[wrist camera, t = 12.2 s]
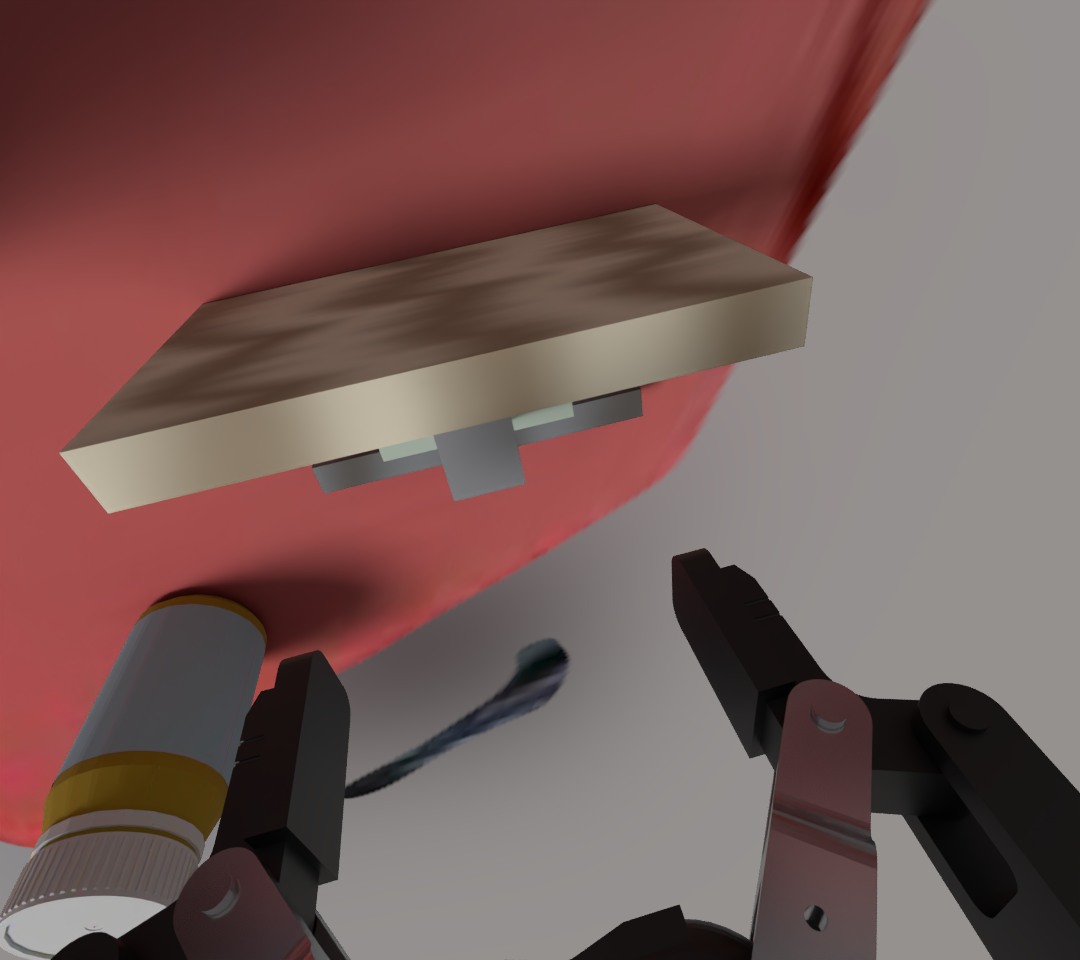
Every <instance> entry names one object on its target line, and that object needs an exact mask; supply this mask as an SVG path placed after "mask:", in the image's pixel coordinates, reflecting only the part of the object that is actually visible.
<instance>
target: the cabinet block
mask: <svg viewBox="0 0 1080 960" xmlns="http://www.w3.org/2000/svg"><path fill="white" fill-rule="evenodd" d="M570 417H574V413H573V406H572V402H570V403H566V404H562V405H558V406H554V407H549V408H545V409H541V410H537V411H533V412H529V413H525V414H520V415H516V416H512V417H508V418H504V419H500V420H495V421H491V422H487V423H483V424H479V425H475V426H470V427H466V428H462V429H458V430H454V431H450V432H445V433H441V434H437V435H433V436H429V437H425V438H421V439H416V440H412V441H408V442H404V443H400V444H396V445H391V446H387V447H383V448H379V451H380V453H381V456H382V459H383V461H384V462H385V461H389V460H394V459H398V458H402V457H406V456H410V455H415V454H419V453H423V452H427V451H431V450H436V449H438V452H439V455H440V458H441V461H442V465H443V468H444V471H445V474H446V477H447V480H448V483H449V486H450V490H451V493H452V496H453V499H454V501H458V500H462V499H466V498H470V497H474V496H479V495H483V494H487V493H491V492H495V491H499V490H503V489H507V488H511V487H515V486H519V485H523V484H526V483H525V478H524V473H523V469H522V464H521V460H520V455H519V450H518V446H517V441H516V437H515V432H514V431H515V430H519V429H524V428H528V427H532V426H536V425H540V424H544V423H549V422H553V421H557V420H561V419H565V418H570Z"/></svg>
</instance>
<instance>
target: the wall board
mask: <svg viewBox="0 0 1080 960" xmlns="http://www.w3.org/2000/svg"><path fill="white" fill-rule="evenodd" d="M812 281H813V277H811V276H809V275H807V274H805V273H803V272H801V271H798V270H796V269H794V268H792V267H790V266H788V265H786V264H784V263H782V262H779V261H777V260H775V259H773V258H771V257H769V256H767V255H764V254H762V253H760V252H758V251H756V250H754V249H752V248H749V247H747V246H745V245H743V244H741V243H739V242H737V241H734V240H732V239H730V238H728V237H726V236H724V235H722V234H719V233H717V232H715V231H713V230H711V229H709V228H707V227H704V226H702V225H700V224H698V223H696V222H694V221H692V220H690V219H687V218H685V217H683V216H681V215H679V214H677V213H675V212H672V211H670V210H668V209H666V208H664V207H662V206H660V205H657V204H653V205H649V206H644V207H640V208H635V209H631V210H626V211H622V212H617V213H613V214H608V215H604V216H599V217H595V218H590V219H586V220H581V221H576V222H572V223H567V224H563V225H558V226H554V227H549V228H545V229H540V230H536V231H531V232H527V233H522V234H518V235H513V236H509V237H504V238H500V239H495V240H491V241H486V242H482V243H477V244H473V245H468V246H464V247H459V248H455V249H450V250H445V251H441V252H436V253H432V254H427V255H423V256H418V257H414V258H409V259H405V260H400V261H396V262H391V263H387V264H382V265H378V266H373V267H369V268H364V269H360V270H355V271H351V272H346V273H342V274H337V275H333V276H328V277H324V278H319V279H314V280H310V281H305V282H301V283H296V284H292V285H287V286H283V287H278V288H274V289H269V290H265V291H260V292H256V293H251V294H247V295H242V296H238V297H233V298H229V299H224V300H220V301H215V302H211V303H206V304H202V305H201V306H200V307H199V308H198V309H197V310H196V311H195V312H194V313H193V314H192V315H191V316H190V317H189V318H188V320H187V321H186V322H185V323H184V324H183V325H182V326H181V327H180V328H179V329H178V330H177V331H176V332H175V333H174V334H173V335H172V336H171V337H170V338H169V339H168V340H167V341H166V342H165V343H164V344H163V345H162V347H161V348H160V349H159V350H158V351H157V352H156V353H155V354H154V355H153V356H152V357H151V358H150V359H149V360H148V361H147V362H146V363H145V364H144V365H143V366H142V367H141V368H140V369H139V370H138V371H137V373H136V374H135V375H134V376H133V377H132V378H131V379H130V380H129V381H128V382H127V383H126V384H125V385H124V386H123V387H122V388H121V389H120V390H119V391H118V392H117V393H116V394H115V395H114V396H113V397H112V399H111V400H110V401H109V402H108V403H107V404H106V405H105V406H104V407H103V408H102V409H101V410H100V411H99V412H98V413H97V414H96V415H95V416H94V417H93V418H92V419H91V420H90V421H89V422H88V423H87V425H86V426H85V427H84V428H83V429H82V430H81V431H80V432H79V433H78V434H77V435H76V436H75V437H74V438H73V439H72V440H71V441H70V442H69V443H68V444H67V445H66V446H65V447H64V448H63V449H62V450H61V452H60V455H61V456H62V457H63V458H64V459H65V461H66V462H67V463H68V464H69V466H70V467H71V468H72V469H73V471H74V472H75V473H76V474H77V476H78V477H79V478H80V479H81V481H82V482H83V483H84V484H85V485H86V487H87V488H88V489H89V490H90V492H91V493H92V494H93V495H94V497H95V498H96V499H97V500H98V502H99V503H100V504H101V505H102V506H103V508H104V509H105V510H106V511H107V513H108V514H109V513H113V512H117V511H121V510H125V509H129V508H134V507H138V506H142V505H146V504H150V503H154V502H158V501H163V500H167V499H171V498H175V497H179V496H183V495H188V494H192V493H196V492H200V491H204V490H208V489H213V488H217V487H221V486H225V485H229V484H233V483H238V482H242V481H246V480H250V479H254V478H258V477H262V476H267V475H271V474H275V473H279V472H283V471H287V470H292V469H296V468H300V467H304V466H308V465H312V464H313V466H312V470H313V472H314V474H315V476H316V478H317V480H318V482H319V484H320V486H321V488H322V490H323V492H324V493H328V492H333V491H337V490H341V489H345V488H349V487H353V486H357V485H361V484H365V483H369V482H374V481H378V480H382V479H386V478H390V477H394V476H398V475H402V474H406V473H410V472H415V471H419V470H423V469H427V468H431V467H435V466H439V465H442V461H441V458H440V455H439V452H438V449H436V450H431V451H427V452H423V453H419V454H415V455H410V456H406V457H402V458H398V459H394V460H389V461H385V462H384V461H383V459H382V456H381V453H380V451H379V448H383V447H387V446H391V445H396V444H400V443H404V442H408V441H412V440H416V439H421V438H425V437H429V436H433V435H437V434H441V433H445V432H450V431H454V430H458V429H462V428H466V427H470V426H475V425H479V424H483V423H487V422H491V421H495V420H500V419H504V418H508V417H512V416H516V415H520V414H525V413H529V412H533V411H537V410H541V409H545V408H549V407H554V406H558V405H562V404H566V403H570V402H572V406H573V413H574V417H570V418H565V419H561V420H557V421H553V422H549V423H544V424H540V425H536V426H532V427H528V428H524V429H519V430H515V431H514V432H515V437H516V441H517V446H521V445H525V444H529V443H534V442H538V441H542V440H546V439H550V438H554V437H558V436H562V435H566V434H571V433H575V432H579V431H583V430H587V429H591V428H595V427H599V426H603V425H607V424H612V423H616V422H620V421H624V420H628V419H632V418H636V417H640V416H643V414H642V398H641V389H640V387H639V386H641V385H645V384H649V383H653V382H658V381H662V380H666V379H670V378H674V377H678V376H683V375H687V374H691V373H695V372H699V371H703V370H708V369H712V368H716V367H720V366H724V365H728V364H732V363H737V362H741V361H745V360H749V359H753V358H757V357H762V356H766V355H770V354H774V353H778V352H782V351H786V350H791V349H795V348H799V347H803V346H804V345H805V338H806V330H807V321H808V313H809V305H810V296H811V288H812Z"/></svg>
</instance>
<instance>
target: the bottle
mask: <svg viewBox="0 0 1080 960" xmlns="http://www.w3.org/2000/svg"><path fill="white" fill-rule="evenodd" d="M266 643H267V635H266V632H265V629H264V627H263V625H262V624H261V622H260V621H259V620H258V619H257V618H256V617H255V616H254V615H253V614H252V613H251V612H250V611H249V610H248V609H247V608H245V607H243V606H242V605H240V604H239V603H237V602H235V601H232V600H229V599H226V598H223V597H220V596H212V595H204V594H197V595H184V596H180V597H176V598H173V599H170V600H167V601H163V602H160V603H158V604H156V605H154V606H152V607H151V608H149V609H148V610H146V611H145V612H144V613H143V614H142V615H141V616H140V618H139V619H138V621H137V623H136V624H135V626H134V628H133V629H132V631H131V633H130V635H129V636H128V638H127V640H126V642H125V644H124V646H123V648H122V650H121V652H120V654H119V656H118V658H117V660H116V662H115V664H114V666H113V668H112V670H111V672H110V674H109V675H108V677H107V679H106V681H105V683H104V685H103V687H102V689H101V691H100V693H99V695H98V697H97V699H96V701H95V703H94V705H93V707H92V709H91V711H90V713H89V714H88V716H87V718H86V720H85V722H84V724H83V726H82V728H81V730H80V732H79V734H78V736H77V738H76V740H75V742H74V744H73V746H72V748H71V750H70V752H69V754H68V755H67V757H66V759H65V761H64V763H63V765H62V767H61V769H60V771H59V773H58V775H57V777H56V779H55V781H54V783H53V785H52V788H51V790H50V792H49V794H48V796H47V798H46V801H45V807H44V817H43V827H42V835H41V836H40V837H39V839H38V841H37V843H36V845H35V847H34V849H33V852H32V854H31V858H30V861H29V862H28V863H27V864H26V865H25V867H24V868H23V870H22V872H21V875H20V877H19V878H18V881H17V882H16V885H15V887H14V889H13V891H12V893H11V895H10V897H9V899H8V901H7V903H6V905H5V907H4V909H3V911H2V913H1V915H0V947H1V948H2V949H4V950H6V951H7V952H9V953H11V954H14V955H16V956H19V957H22V958H26V959H31V960H51V959H52V957H53V956H55V955H56V954H57V953H58V952H59V951H60V950H61V949H62V948H64V947H65V946H66V945H68V944H69V943H71V942H72V941H74V940H76V939H77V938H79V937H81V936H84V935H86V934H89V933H93V932H104V933H108V934H109V935H111V936H113V937H115V938H119V937H120V936H122V935H124V934H125V933H127V932H128V931H130V930H131V929H133V928H135V927H136V926H138V925H139V924H141V923H142V922H144V921H146V920H147V919H149V918H150V917H152V916H153V915H155V914H157V913H158V912H160V911H161V910H163V909H164V908H166V907H167V906H169V905H170V904H172V903H173V902H174V901H176V900H177V899H178V898H179V895H180V893H181V891H182V889H183V887H184V886H185V884H186V883H187V881H188V879H189V878H190V877H191V876H192V874H193V873H194V872H195V871H196V870H197V869H198V864H199V862H200V860H201V858H202V854H203V850H204V847H205V841H206V839H207V838H208V836H209V835H210V833H211V831H212V830H213V828H214V827H215V825H216V823H217V822H218V820H219V819H220V817H221V816H222V811H223V807H224V803H225V799H226V795H227V791H228V787H229V783H230V779H231V775H232V771H233V767H235V758H236V754H237V750H238V746H240V738H241V734H242V730H243V726H244V721H245V717H246V715H247V713H248V712H249V710H250V709H251V705H252V701H253V697H254V693H255V689H256V685H257V681H258V678H259V674H260V670H261V666H262V662H263V658H264V653H265V648H266Z"/></svg>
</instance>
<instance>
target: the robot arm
mask: <svg viewBox="0 0 1080 960" xmlns="http://www.w3.org/2000/svg"><path fill="white" fill-rule="evenodd" d="M672 590H673V591H672V592H673V593H672V595H673V606H674V611H675V614H676V617H677V620H678V623H679V625H680V627H681V629H682V631H683V633H684V634H685V637H686V639H687V640H688V642H689V644H690V646H691V648H692V650H693V652H694V654H695V656H696V657H697V659H698V661H699V663H700V665H701V667H702V669H703V671H704V673H705V675H706V676H707V678H708V680H709V682H710V684H711V686H712V688H713V690H714V692H715V693H716V695H717V697H718V699H719V701H720V703H721V705H722V707H723V709H724V711H725V712H726V714H727V716H728V718H729V720H730V722H731V724H732V726H733V728H734V730H735V731H736V733H737V735H738V737H739V739H740V741H741V743H742V745H743V746H744V749H745V750H746V752H747V754H748V756H749V758H753V757H756V756H760V755H763V754H766V756H767V758H768V760H769V762H770V763H771V765H772V767H773V769H774V776H773V784H772V790H771V797H770V804H769V811H768V818H767V824H766V831H765V838H764V845H763V852H762V859H761V866H760V872H759V879H758V884H757V892H756V897H755V903H754V910H753V917H752V924H751V931H750V937H749V939H747V938H746V937H744V936H742V935H740V934H739V933H736V932H734V931H732V930H730V929H728V928H726V927H723V926H720V925H717V924H714V923H711V922H705V921H701V920H690V919H684V916H683V913H682V910H681V907H680V905H677V906H673V907H670V908H667V909H664V910H661V911H657V912H654V913H651V914H648V915H645V916H642V917H639V918H635V919H632V920H629V921H626V922H623V923H622V924H620V925H619V926H618V927H616V928H615V929H613V930H612V931H611V932H609V933H608V934H606V935H605V936H604V937H602V938H601V939H599V940H598V941H597V942H595V943H594V944H592V945H591V946H590V947H588V948H587V949H585V950H584V951H583V952H581V953H580V954H578V955H577V956H576V957H574V958H573V959H571V960H876V934H877V933H876V932H877V851H876V846H875V842H874V841H873V840H872V838H871V829H870V828H871V827H870V826H871V823H870V822H871V812H872V813H885V814H898V815H902V816H903V817H904V819H905V820H906V822H907V824H908V825H909V827H910V828H911V830H912V831H913V833H914V835H915V836H916V838H917V839H918V841H919V843H920V844H921V846H922V847H923V849H924V850H925V852H926V853H927V855H928V857H929V858H930V860H931V862H932V863H933V865H934V866H935V868H936V869H937V871H938V873H939V874H940V876H941V877H942V879H943V881H944V882H945V884H946V885H947V887H948V888H949V890H950V891H951V893H952V895H953V896H954V898H955V900H956V901H957V902H958V904H959V906H960V907H961V909H962V910H963V912H964V914H965V915H966V917H967V918H968V920H969V921H970V923H971V925H972V926H973V928H974V930H975V931H976V933H977V934H978V936H979V937H980V939H981V940H982V942H983V944H984V945H985V947H986V949H987V950H988V952H989V953H990V955H991V956H992V958H993V960H1080V793H1079V791H1078V790H1077V789H1076V788H1075V787H1074V786H1073V785H1072V784H1071V783H1070V782H1069V780H1068V779H1067V778H1066V777H1065V776H1064V775H1063V774H1062V773H1061V772H1060V770H1059V769H1058V768H1057V767H1056V766H1055V765H1054V764H1053V763H1052V762H1051V761H1050V759H1049V758H1048V757H1047V756H1046V755H1045V754H1044V753H1043V752H1042V750H1041V749H1040V748H1039V747H1038V746H1037V745H1036V744H1035V743H1034V742H1033V740H1032V739H1030V737H1029V736H1028V735H1027V734H1026V733H1025V732H1024V731H1023V729H1022V728H1021V727H1020V726H1019V725H1018V724H1017V723H1016V722H1015V721H1014V719H1013V718H1012V717H1011V716H1010V715H1009V714H1008V713H1007V712H1006V711H1005V710H1004V709H1003V708H1002V707H1001V706H1000V705H999V704H998V703H997V702H996V701H994V700H993V699H992V698H990V697H988V696H987V695H986V694H984V693H982V692H980V691H978V690H976V689H973V688H971V687H968V686H963V685H960V684H953V683H943V684H937V685H934V686H931V687H930V688H928V689H927V690H926V691H924V693H923V694H922V696H921V698H920V700H899V699H898V700H897V699H876V698H868V697H863V696H860V695H857V694H855V693H854V692H853V691H851V690H850V689H848V688H846V687H845V686H843V685H841V684H839V683H836V682H833V681H832V680H831V679H830V678H829V677H828V676H826V674H825V673H824V672H823V671H822V670H821V668H820V667H819V666H818V664H817V663H816V661H815V660H814V659H813V657H812V656H811V655H810V653H809V652H808V650H807V649H806V648H805V646H804V645H803V644H802V642H801V641H800V640H799V638H798V637H797V636H796V634H795V633H794V632H793V630H792V629H791V627H790V626H789V625H788V623H787V622H786V620H785V619H784V618H783V617H782V616H780V614H779V611H778V610H777V608H776V607H775V605H774V604H773V603H772V601H771V600H770V601H769V599H768V596H767V595H766V593H765V592H764V590H763V589H762V588H761V586H760V585H759V584H758V582H757V581H756V580H755V578H753V577H752V576H750V575H749V574H747V573H746V572H744V571H743V570H741V569H740V568H738V567H737V566H735V565H731V566H727V567H724V568H720V567H719V566H718V564H717V563H716V561H715V560H714V558H713V557H712V555H711V554H710V552H709V551H708V550H706V549H705V548H703V549H699V550H695V551H692V552H688V553H684V554H680V555H677V556H673V558H672ZM349 728H350V705H349V700H348V696H347V693H346V691H345V689H344V687H343V685H342V684H341V682H340V681H339V679H338V677H337V676H336V674H335V672H334V671H333V669H332V668H331V666H330V664H329V663H328V661H327V659H326V658H325V656H324V655H323V653H322V652H321V651H319V650H317V651H313V652H309V653H305V654H302V655H298V656H294V657H290V658H287V659H283V660H282V661H281V663H280V665H279V668H278V672H277V677H276V682H275V686H274V688H272V689H268V690H265V691H261V692H260V694H259V696H258V697H257V699H256V700H255V702H254V704H253V705H252V707H251V709H250V710H249V712H248V713H247V715H246V717H245V721H244V726H243V730H242V734H241V738H240V746H238V750H237V754H236V758H235V767H233V771H232V775H231V779H230V783H229V787H228V791H227V795H226V799H225V803H224V807H223V811H222V816H221V820H220V824H219V828H218V832H217V836H216V840H215V844H214V847H213V851H212V853H211V855H210V858H209V859H208V860H207V861H205V862H204V863H203V864H202V865H201V866H200V867H199V868H198V869H197V870H196V871H195V872H194V873H193V874H192V876H191V877H190V878H189V879H188V881H187V883H186V884H185V886H184V887H183V889H182V891H181V893H180V895H179V898H178V899H177V900H176V901H174V902H173V903H172V904H170V905H169V906H167V907H166V908H164V909H163V910H161V911H160V912H158V913H157V914H155V915H153V916H152V917H150V918H149V919H147V920H146V921H144V922H142V923H141V924H139V925H138V926H136V927H135V928H133V929H131V930H130V931H128V932H127V933H125V934H124V935H122V936H120V937H119V938H115V937H113V936H111V935H109V934H108V933H104V932H93V933H89V934H86V935H84V936H81V937H79V938H77V939H76V940H74V941H72V942H71V943H69V944H68V945H66V946H65V947H64V948H62V949H61V950H60V951H59V952H58V953H57V954H56V955H55V956H53V957H52V959H51V960H350V958H349V956H348V955H347V954H346V952H345V951H344V950H343V948H342V946H341V945H340V944H339V942H338V940H337V939H336V937H335V936H334V934H333V933H332V932H331V930H330V929H329V927H328V926H327V924H326V923H325V921H324V920H323V918H322V917H321V915H320V914H319V912H318V911H317V910H316V901H317V891H318V885H322V884H325V883H328V882H331V881H334V880H338V870H339V858H340V844H341V832H342V819H343V805H344V793H345V780H346V767H347V754H348V739H349Z"/></svg>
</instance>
